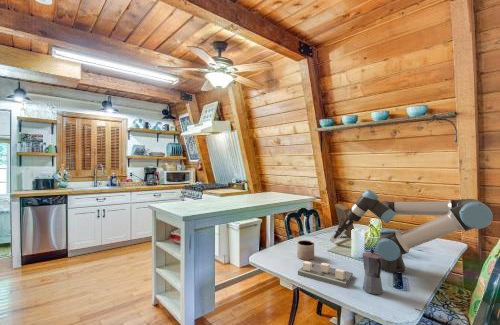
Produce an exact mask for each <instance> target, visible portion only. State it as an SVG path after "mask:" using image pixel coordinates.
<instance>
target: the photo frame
mask: <svg viewBox="0 0 500 325" xmlns="http://www.w3.org/2000/svg"><path fill="white" fill-rule="evenodd" d="M334 208H335V210H336V215H337V220H338V227H337V229H336V231H337V230H338V229H339V228H340V227H341V226H342V225H343V223H344V222H345V220H346V219H347V218H349V216H348V215H347V213H348V212H349V210H350V209H351V208H350V207H347V206H345V205H343V204H341V203H336V204H334ZM352 229H354V230H355V227H354V222H353V223H352V224H351V225H350V226H349V228H348V230H346V231H345V232H344V234H343V235H345V236H346V237H347V238H349V239H350V240H352V239H351V230H352ZM338 232H339V231H338Z"/></svg>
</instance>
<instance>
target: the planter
mask: <svg viewBox="0 0 500 325" xmlns="http://www.w3.org/2000/svg"><path fill="white" fill-rule="evenodd" d="M296 250H297V258H298V259H300V260H303V261H312V260H313V259H315V243H314V242H313V241H310V240H299V241H297V249H296Z"/></svg>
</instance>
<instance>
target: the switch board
mask: <svg viewBox="0 0 500 325" xmlns="http://www.w3.org/2000/svg"><path fill="white" fill-rule="evenodd" d="M336 269H337V268H333V267H330V271H329V272H328V273H325V272H321V264H317V263H313V262H312V270H311V271H306V270H303V266H302V267H301V268H299V270H297V275H298V276H301V277H304V278H305V277H306V278H309V279H311V280H316V281H319V282H324V283H326V284H327V283H328V284H331V285H335V286H338V287H341V288H345V289H346V288H347V287H348V285H349V284H350V282H351V281H352V278H353V276H354V275H353V274H354V273H353V272H350V271H346V270H345V278H344V279H343V280H341V279H337V278H335V270H336Z"/></svg>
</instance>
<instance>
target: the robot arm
mask: <svg viewBox="0 0 500 325" xmlns="http://www.w3.org/2000/svg"><path fill="white" fill-rule="evenodd" d="M349 209H350V210H349V212H348V213H347V215H348V216H349V218H347V219H346V220H345V222H344V223H343V225H342V226H341V227H340V228H339V229H338V228H337V229H338V230H337V229H336V230H334V232H335V233H334V234H333V235H332V236H331V238H330V239H329V241H330V242H331V244H332V243H333V244H334V243H335V242H336V241H337V240H338V239H339V238H342V236H343V235H345V234H344V232H345V231H346V230H348V228H349V226H350V225H351V224H352V223H353V224H354V222H356V223H358V222H359V221H360V220H361V219H362V218H363V217H364V216H365V215H366V213H367V212H368V211H369V212H371V213H372V214H373V215H375V216H376V217H377V218H379V219H380V220H381V221H383V222H384V223H386V224H387V223H388V224H389V223H390V222H391V221H392V219H393V218H394V217H395V216H396V215H397V216H398V215H399V216H401V215H402V216H404V215H405V216H430V217H431V216H435V217H437V216H438V217H437V218H434V219H431V220H429V221H427V222H425V223H422V224H420V225H417V226H414V227H412V228H409V229H407V230H405V231H401V230H399V229H394V228H380V230H379V238H378V240H377V241H376V244H375V249H376V253H377V254H379V255H382V258H383V259H382V267H381V271H384V272H387V273H392V274H394V273H393V272H400V273H399V274H401V273H405V272H406V264H405V262H404V259H403V255H405V254H408V253H410V249H412V248H415V247H418V246H420V245H421V246H422V245H423V244H425V243H429V242H431V241H434V240H437V239H439V238H441V237H445V236H447V235H448V236H449V235H450V234H453V233H455V232H458V231H462V232H464V233H465V232H468V231H472V230H474V229H475V230H476V229H477V230H480V229H485V228H487V227H489V225H491V223H492V222H493V219H494V217H493V216H494V214H493V213H492V210H491V208H489V206H488V205H486V204H485V203H483V202H482V201H480V200H479V199H475V198H462V199H461V198H460V199H458V198H457V199H449V200H448V201H388V200H383V201H381V200H380V201H379V195H378V194H377V193H376V192H374V190H371V189H366V190H365V191H364V192H363V193H362V194H361V195H360V197H359V198H358V199H357V201H355V203H353V204H352V206H351V208H349ZM338 231H339V232H338Z"/></svg>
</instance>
